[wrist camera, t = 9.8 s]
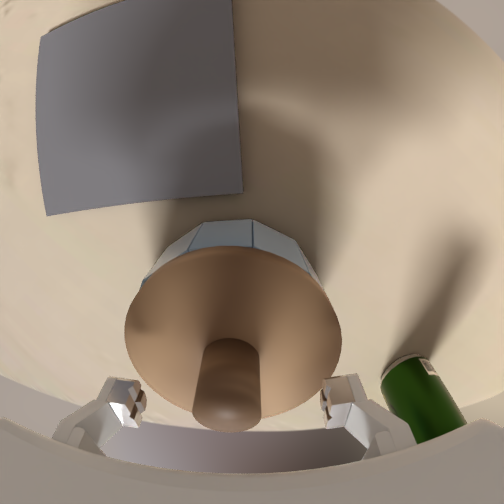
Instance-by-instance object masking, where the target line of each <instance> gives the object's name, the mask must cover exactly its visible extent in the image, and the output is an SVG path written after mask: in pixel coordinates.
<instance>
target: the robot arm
mask: <svg viewBox="0 0 504 504" xmlns="http://www.w3.org/2000/svg"><path fill="white" fill-rule="evenodd" d="M322 387H323V389H322V390H321V393H320V404H321V409H322V410H323V411H324V417H323V418H324V422H325V427H326V429H330V428H338V427H345V428H346V429H347V430H348V431H349V432H350V433H351V434H352V435H353V436H354V437H355V438H357V439H358V440H359V441H360V442H361V443H362V444H363V445H364V446H365V447H366V448H367V449H368V450H367V452H366V453H365V455H364V457H363V458H362V460H361V461H357V462H352V463H348V464H342V465H338V466H331V467H325V468H319V469H311V470H302V471H293V472H282V473H281V472H280V473H263V474H223V473H203V472H191V471H181V470H173V469H165V468H158V467H153V466H146V465H141V464H136V463H131V462H127V461H122V460H118V459H114V458H110V457H106V455H105V454H104V453H103V451H102V450H101V449H100V447H102V446H103V445H104V444H105V443H106V442H107V441H108V440H109V439H110V438H111V437H112V436H114V435H115V434H116V433H117V432H118V431H119V430H120V429H121V428H122V427H123V426H128V427H135V428H139V426H140V423H141V420H142V415H141V413H142V412H143V411H145V408H146V401H147V399H146V395H145V393H144V391H142V390H141V389H140V388H141V384H140V382H139V381H138V380H131V379H124V378H117V377H108V378H107V380H106V382H105V384H104V385H103V387H102V389H101V391H100V393H99V395H98V397H97V399H96V400H92V401H91V402H89V403H88V404H86V405H85V406H83V407H82V408H80V409H79V410H77V411H75V412H74V413H72V414H71V415H69V416H67V417H66V418H64V419H63V420H61V421H60V423H59V425H58V427H57V429H56V431H55V433H54V435H53V437H52V439H51V438H49V437H46V436H44V435H41V434H39V433H36V432H34V431H32V430H30V429H28V428H26V427H23V426H21V425H19V424H17V423H15V422H13V421H11V420H9V419H7V418H5V417H0V504H504V427H502V426H500V425H498V424H496V423H493V422H492V421H489V420H487V419H484V418H480V419H477V420H475V421H472V422H470V423H468V424H466V425H464V426H462V427H460V428H458V429H455V430H453V431H451V432H448V433H446V434H444V435H441V436H439V437H436V438H434V439H431V440H428V441H426V442H423V443H420V444H417V443H416V441H415V438H414V436H413V434H412V431H411V429H410V427H409V424H408V423H406V422H405V421H403V420H402V419H400V418H398V417H397V416H395V415H394V414H392V413H391V412H389V411H388V410H386V409H385V408H383V407H382V406H380V405H379V404H377V403H376V402H374V401H373V400H371V399H369V400H368V399H367V396H366V394H365V391H364V389H363V386H362V384H361V381H360V379H359V376H358V374H349V375H342V376H336V377H329V378H323V380H322Z"/></svg>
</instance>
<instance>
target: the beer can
mask: <svg viewBox="0 0 504 504" xmlns="http://www.w3.org/2000/svg"><path fill="white" fill-rule="evenodd" d="M381 392H382V394H383V396H384V399H385V401H386V403H387V406H388V408H389V410H390V412H391V413H392V414H394V415H395V416H397V417H398V418H400V419H402V420H403V421H405V422H406V423H408V424H409V427H410V429H411V431H412V434H413V436H414V438H415V441H416V443H417V444H420V443H423V442H426V441H428V440H431V439H434V438H436V437H439V436H441V435H444V434H446V433H448V432H451V431H453V430H455V429H458V428H460V427H462V426H464V425H466V424H467V422H466V420H465V419H464V417H463V415H462V414H461V412H460V410H459V408H458V407H457V405H456V403H455V402H454V400H453V398H452V397H451V395H450V393H449V392H448V390H447V388H446V387H445V385H444V384H443V382H442V381H441V379H440V377H439V376H438V374H437V373H436V371H435V370H434V368H433V367H432V365H431V364H430V362H429V361H428V359H427V358H425V357H423V356H421V355H418V354H410V355H406V356H404V357H402V358H400V359H398V360H396V361H395V362H394V363H392V364H391V365H390V366H389V367H388V368H387V369H386V370H385V372H384V374H383V375H382V379H381Z"/></svg>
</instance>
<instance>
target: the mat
mask: <svg viewBox="0 0 504 504" xmlns="http://www.w3.org/2000/svg"><path fill="white" fill-rule="evenodd" d="M36 136H37V151H38V162H39V171H40V179H41V186H42V193H43V199H44V205H45V210H46V215H47V216H51V215H57V214H63V213H69V212H75V211H81V210H88V209H95V208H101V207H109V206H116V205H124V204H132V203H140V202H148V201H158V200H167V199H177V198H188V197H199V196H212V195H225V194H240V193H243V180H242V164H241V148H240V132H239V116H238V99H237V82H236V65H235V48H234V30H233V12H232V0H125V1H122V2H119V3H116V4H113V5H110V6H107V7H105V8H102V9H99V10H97V11H94V12H92V13H89V14H87V15H85V16H82V17H80V18H78V19H76V20H73V21H71V22H69V23H67V24H65V25H63V26H61V27H59V28H57V29H55V30H53V31H51V32H49V33H47V34H46V35H44V36H42V37H41V39H40V46H39V55H38V65H37V79H36Z"/></svg>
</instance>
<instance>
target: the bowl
mask: <svg viewBox="0 0 504 504" xmlns="http://www.w3.org/2000/svg"><path fill="white" fill-rule="evenodd" d="M214 246H243V247H251V248H256V249H260V250H264V251H268V252H271V253H273V254H276V255H278V256H281V257H284V258H285V259H287V260H289V261H291V262H293V263H294V264H296V265H298V266H299V267H301V268H302V269H303V270H305V271H306V272H307V273H309V274H310V275H311V276H312V277H313V278H314V279H315V280H316V281H317V282H318V284H319V285H320V286H321V288H322V289H323V287H322V285H321V283H320V281H319V279H318V276H317V275H316V273H315V271H314V270H313V268H312V266H311V265H310V263H309V261H308V260H307V258H306V257H305V255H304V253H303V252H302V250H301V248H300V247H299V245H298V244H297V242H296V241H295V240H294V239H292V238H290V237H288V236H286V235H284V234H282V233H280V232H278V231H276V230H274V229H272V228H270V227H268V226H266V225H264V224H262V223H260V222H257V221H255V220H253V221H252V219H244V220H227V221H212V222H204V223H201V224H200V225H198V226H197V227H195V228H194V229H193V230H191V231H190V232H188V233H187V234H185V235H184V236H182V237H181V238H180V239H178V240H177V241H175V242H174V243H172V244H171V245H170V246H168V247H167V248H166V250H165V251H164V252H163V254H162V255H161V256H160V258H159V259H158V260H157V262H156V263H155V264H154V266H153V267H152V268H151V270H150V271H149V273H148V274H147V275H146V277H145V278H144V279H143V281H142V284H141V287H142V286H143V285H144V283H145V282H146V281H147V279H148V278H149V277H150V276H151V275H152V274H153V273H154V272H155V271H156V270H157V269H159V268H160V267H161V266H162V265H164V264H165V263H167V262H169V261H170V260H172V259H174V258H175V257H178V256H180V255H182V254H185V253H187V252H190V251H194V250H198V249H201V248H207V247H214ZM141 287H140V289H141ZM323 290H324V289H323ZM324 292H325V291H324Z"/></svg>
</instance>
